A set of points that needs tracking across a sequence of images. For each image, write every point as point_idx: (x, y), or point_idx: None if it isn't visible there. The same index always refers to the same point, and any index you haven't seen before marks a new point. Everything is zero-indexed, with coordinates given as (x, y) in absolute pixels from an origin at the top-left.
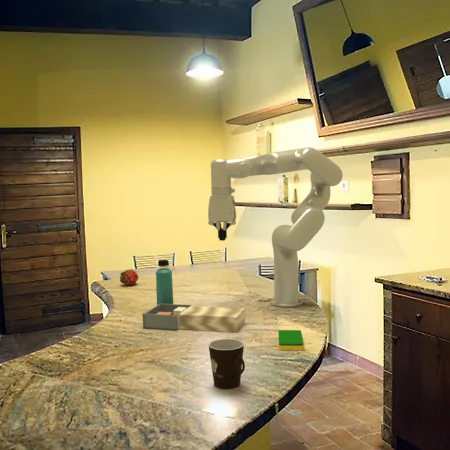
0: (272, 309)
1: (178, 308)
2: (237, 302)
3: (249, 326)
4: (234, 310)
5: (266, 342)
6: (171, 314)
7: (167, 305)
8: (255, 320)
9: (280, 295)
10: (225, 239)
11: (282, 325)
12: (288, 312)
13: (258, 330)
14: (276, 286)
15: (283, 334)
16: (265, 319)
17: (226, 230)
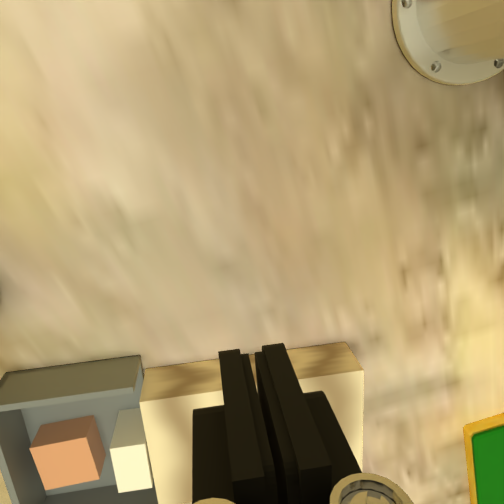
0: (412, 133)
1: (122, 466)
2: (220, 31)
3: (368, 374)
4: (334, 405)
5: (438, 478)
6: (90, 440)
7: (24, 405)
8: (374, 307)
9: (473, 56)
10: (283, 348)
11: (467, 334)
12: (479, 166)
13: (402, 401)
14: (481, 32)
15: (489, 467)
16: (405, 286)
17: (366, 489)
